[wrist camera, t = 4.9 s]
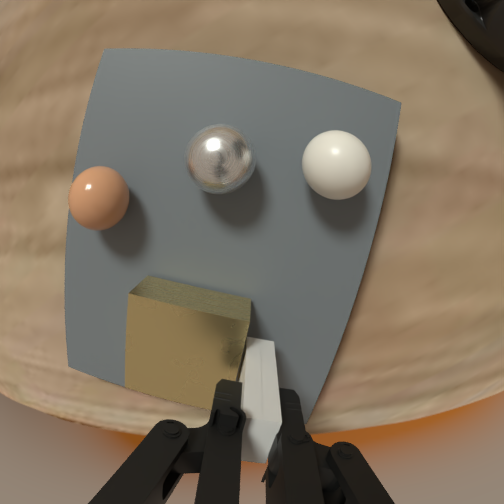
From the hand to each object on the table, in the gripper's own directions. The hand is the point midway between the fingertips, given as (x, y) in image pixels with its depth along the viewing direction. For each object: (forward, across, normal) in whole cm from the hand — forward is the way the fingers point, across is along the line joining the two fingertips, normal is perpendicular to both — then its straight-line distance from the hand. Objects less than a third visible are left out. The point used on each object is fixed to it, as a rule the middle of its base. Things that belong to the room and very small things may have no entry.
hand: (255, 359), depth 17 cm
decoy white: (0, +2, +11) cm, 11 cm away
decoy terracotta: (0, -10, +7) cm, 12 cm away
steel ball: (0, -4, +10) cm, 11 cm away
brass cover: (+1, -4, 0) cm, 4 cm away
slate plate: (+4, -4, +5) cm, 8 cm away
